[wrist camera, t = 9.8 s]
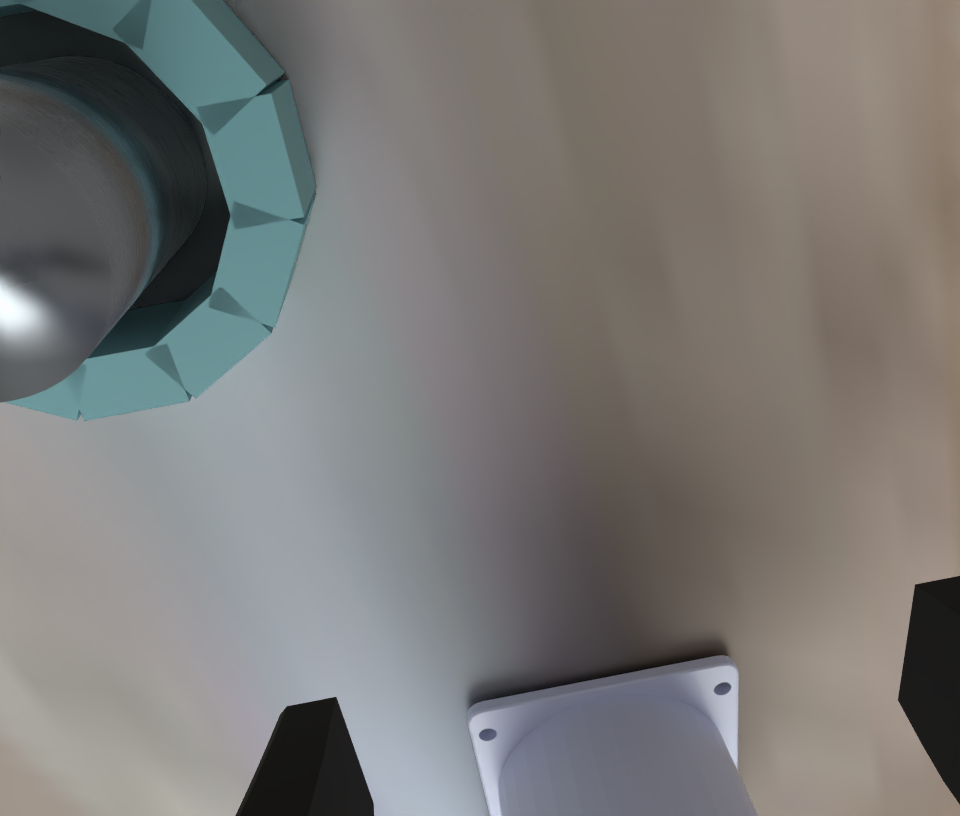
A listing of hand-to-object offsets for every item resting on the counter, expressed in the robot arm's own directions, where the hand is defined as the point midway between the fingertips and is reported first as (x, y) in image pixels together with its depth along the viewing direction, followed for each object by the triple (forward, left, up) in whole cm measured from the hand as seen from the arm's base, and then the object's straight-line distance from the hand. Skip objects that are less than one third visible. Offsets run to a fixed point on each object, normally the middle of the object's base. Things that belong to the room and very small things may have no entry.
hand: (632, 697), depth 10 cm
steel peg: (+6, +8, -9) cm, 13 cm away
